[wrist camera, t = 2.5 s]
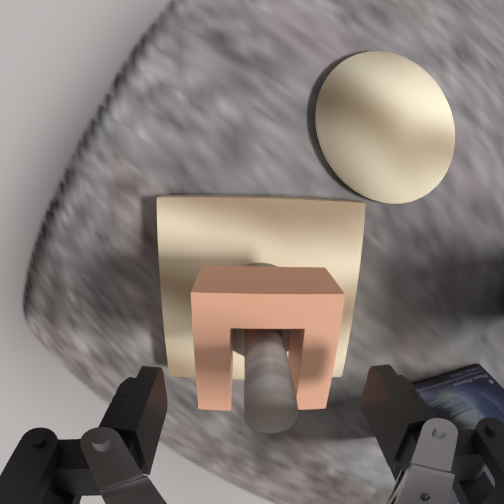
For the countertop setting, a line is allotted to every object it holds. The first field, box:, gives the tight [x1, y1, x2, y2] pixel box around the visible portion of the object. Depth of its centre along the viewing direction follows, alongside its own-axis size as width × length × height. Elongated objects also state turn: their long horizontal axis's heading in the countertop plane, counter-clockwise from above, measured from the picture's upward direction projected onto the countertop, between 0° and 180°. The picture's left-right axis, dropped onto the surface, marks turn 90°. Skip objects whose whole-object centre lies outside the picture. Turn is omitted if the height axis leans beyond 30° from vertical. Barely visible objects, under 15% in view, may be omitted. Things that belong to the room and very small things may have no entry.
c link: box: [191, 265, 345, 411], centre depth 15 cm, size 6×6×4 cm
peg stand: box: [157, 195, 366, 434], centre depth 15 cm, size 12×12×11 cm
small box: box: [390, 364, 504, 504], centre depth 19 cm, size 11×6×10 cm, turn 96°
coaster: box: [315, 51, 455, 204], centre depth 18 cm, size 10×10×1 cm
